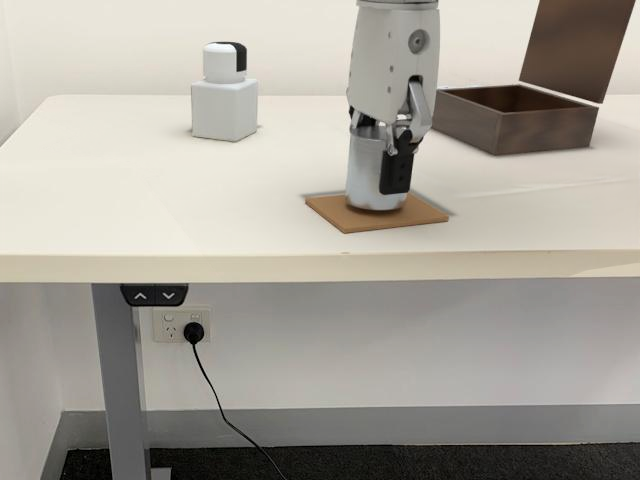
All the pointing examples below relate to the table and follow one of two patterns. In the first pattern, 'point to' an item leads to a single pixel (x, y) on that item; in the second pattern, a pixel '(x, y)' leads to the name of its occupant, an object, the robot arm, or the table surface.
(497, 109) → the box
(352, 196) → the silver metal canister
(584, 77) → the lid
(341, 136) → the table surface
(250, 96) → the white block with cylinder
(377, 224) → the mat
